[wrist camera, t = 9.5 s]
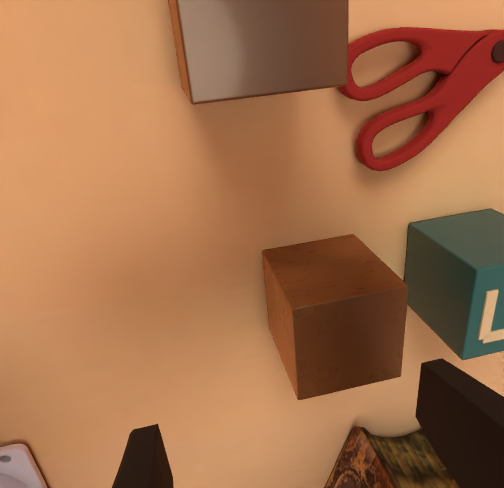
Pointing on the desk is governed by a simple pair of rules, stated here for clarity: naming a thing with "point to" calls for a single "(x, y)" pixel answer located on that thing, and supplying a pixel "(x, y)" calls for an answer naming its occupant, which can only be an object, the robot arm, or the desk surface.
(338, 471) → the book
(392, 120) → the scissors
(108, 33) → the desk surface
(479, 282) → the block
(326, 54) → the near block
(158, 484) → the robot arm
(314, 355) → the block
